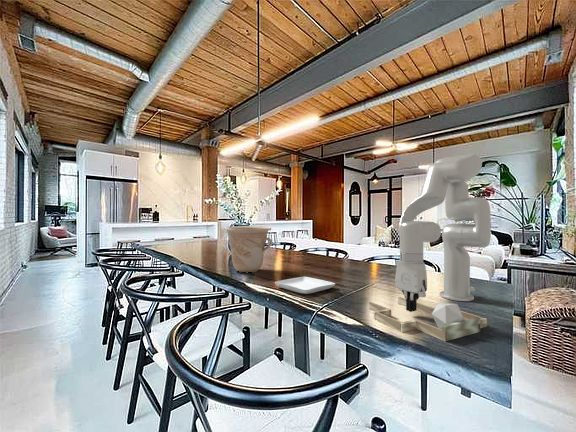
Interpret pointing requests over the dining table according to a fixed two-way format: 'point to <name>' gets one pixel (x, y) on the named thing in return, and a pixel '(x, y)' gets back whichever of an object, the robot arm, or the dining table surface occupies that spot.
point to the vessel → (248, 246)
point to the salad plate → (305, 285)
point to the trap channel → (445, 334)
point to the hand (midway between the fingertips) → (411, 310)
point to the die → (447, 314)
